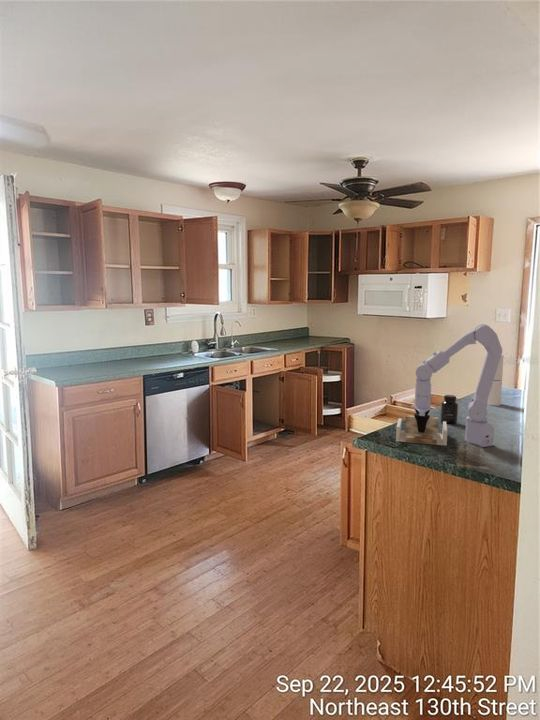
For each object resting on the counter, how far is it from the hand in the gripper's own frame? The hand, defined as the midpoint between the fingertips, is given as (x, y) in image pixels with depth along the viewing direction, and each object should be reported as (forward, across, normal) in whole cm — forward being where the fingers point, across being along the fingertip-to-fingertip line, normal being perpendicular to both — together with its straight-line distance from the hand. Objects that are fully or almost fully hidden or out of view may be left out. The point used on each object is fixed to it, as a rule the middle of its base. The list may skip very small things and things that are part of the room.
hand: (421, 429), depth 186 cm
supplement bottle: (+3, -25, +11) cm, 28 cm away
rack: (+3, +2, 0) cm, 4 cm away
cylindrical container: (+3, -68, +33) cm, 76 cm away
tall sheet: (+2, 0, 0) cm, 3 cm away
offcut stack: (+2, +8, 0) cm, 8 cm away
